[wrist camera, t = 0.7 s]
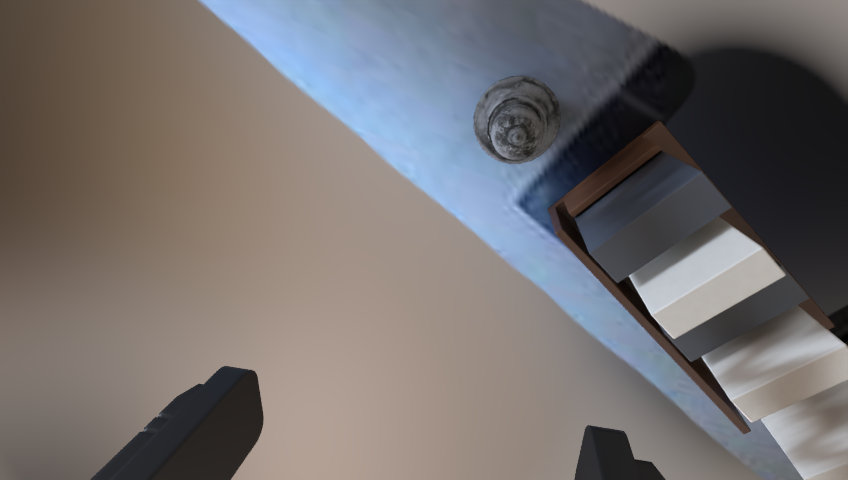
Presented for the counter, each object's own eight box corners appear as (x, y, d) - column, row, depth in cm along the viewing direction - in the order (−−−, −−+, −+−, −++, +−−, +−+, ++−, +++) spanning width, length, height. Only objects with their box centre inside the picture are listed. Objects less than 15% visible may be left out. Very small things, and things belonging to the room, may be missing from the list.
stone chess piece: (539, 61, 31) (554, 53, 20) (566, 136, 32) (594, 169, 21) (465, 96, 32) (440, 108, 21) (494, 166, 34) (485, 211, 23)
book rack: (657, 120, 30) (747, 149, 19) (828, 320, 33) (999, 454, 22) (547, 209, 34) (564, 278, 23) (708, 382, 37) (798, 523, 25)
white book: (674, 185, 31) (763, 246, 20) (691, 205, 31) (787, 275, 20) (605, 235, 33) (650, 315, 22) (621, 253, 34) (674, 340, 23)
